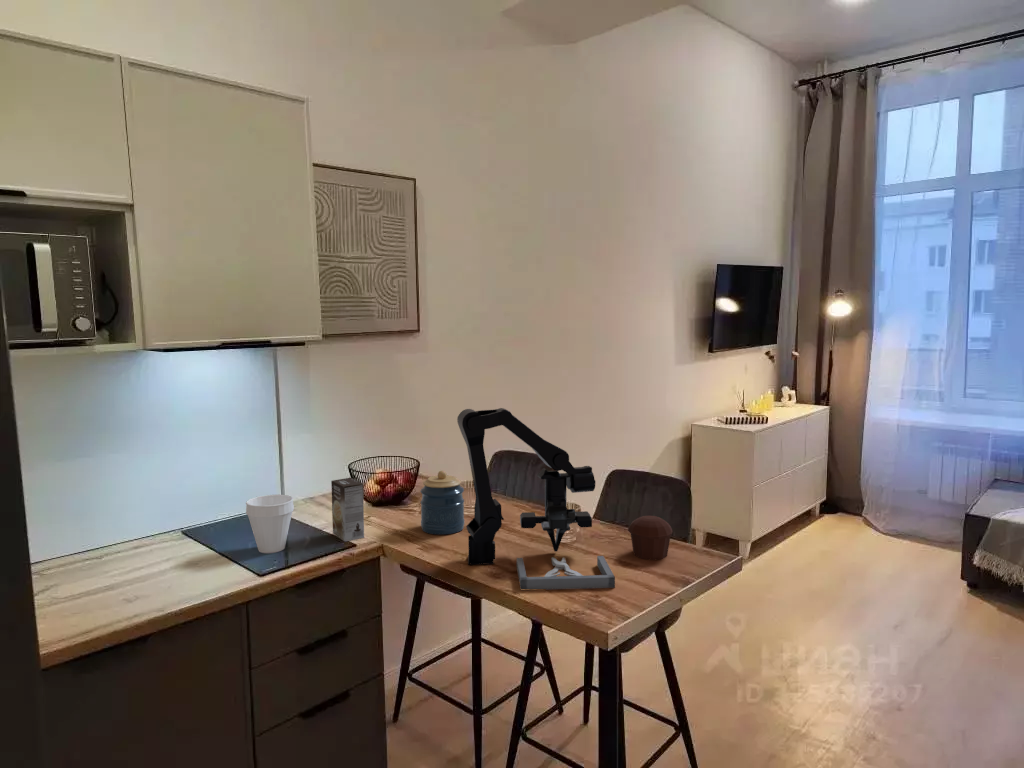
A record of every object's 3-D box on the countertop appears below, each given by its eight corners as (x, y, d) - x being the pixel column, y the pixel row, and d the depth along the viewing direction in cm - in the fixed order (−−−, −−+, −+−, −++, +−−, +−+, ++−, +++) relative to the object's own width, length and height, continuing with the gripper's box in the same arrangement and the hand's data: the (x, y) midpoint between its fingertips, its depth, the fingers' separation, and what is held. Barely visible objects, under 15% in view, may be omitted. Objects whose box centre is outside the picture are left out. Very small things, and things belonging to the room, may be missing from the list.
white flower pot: (291, 539, 196) (290, 492, 194) (298, 552, 185) (296, 502, 183) (245, 545, 190) (243, 497, 189) (249, 559, 179) (247, 508, 178)
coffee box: (331, 534, 200) (330, 480, 199) (352, 529, 204) (350, 477, 203) (344, 542, 193) (343, 486, 191) (365, 537, 197) (364, 482, 195)
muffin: (668, 547, 188) (668, 511, 187) (676, 561, 177) (677, 523, 176) (624, 547, 188) (624, 511, 187) (630, 561, 177) (630, 523, 176)
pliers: (545, 580, 162) (539, 557, 176) (545, 586, 162) (539, 563, 177) (586, 578, 162) (577, 556, 177) (586, 585, 162) (577, 562, 177)
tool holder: (520, 590, 158) (520, 579, 158) (516, 567, 173) (516, 557, 173) (614, 587, 160) (614, 577, 160) (603, 565, 174) (603, 555, 174)
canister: (416, 534, 199) (415, 475, 198) (426, 521, 212) (425, 465, 211) (460, 536, 198) (459, 476, 196) (468, 522, 211) (467, 466, 209)
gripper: (522, 502, 173) (522, 562, 175) (595, 501, 174) (595, 561, 176) (519, 491, 185) (520, 547, 186) (588, 490, 185) (588, 546, 187)
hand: (555, 551), depth 183 cm, fingers closed
